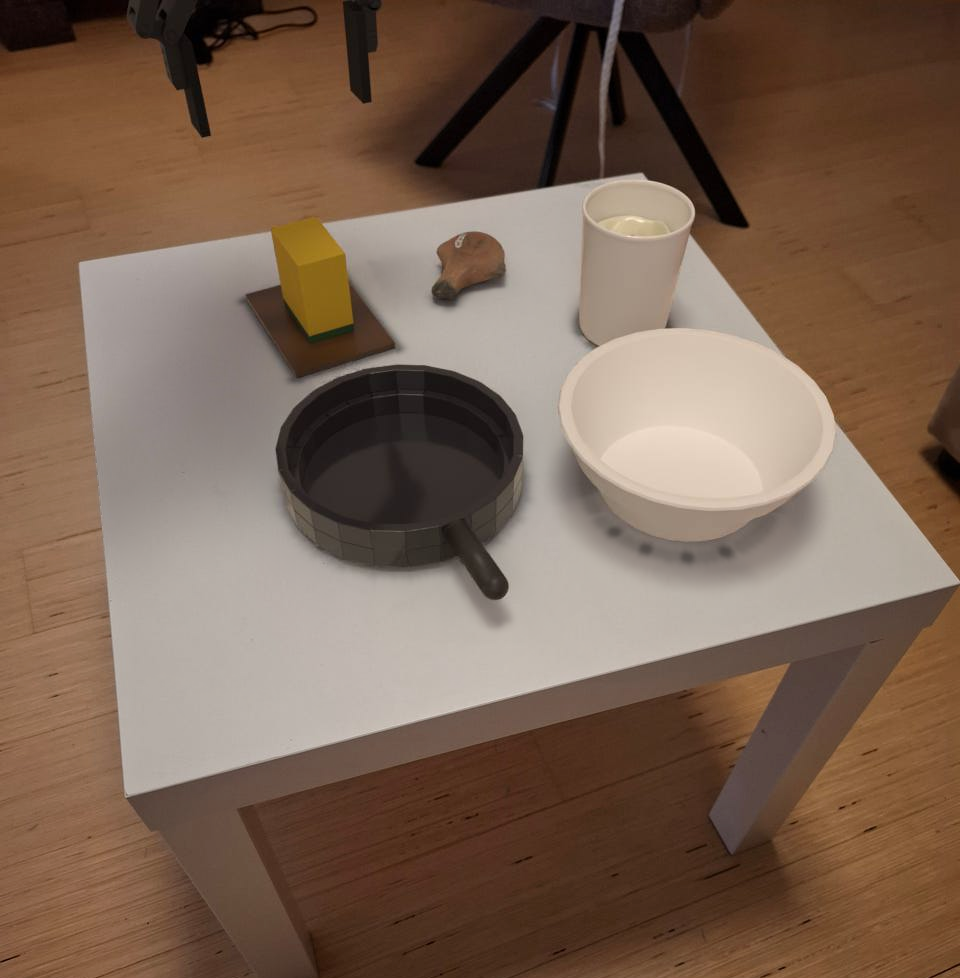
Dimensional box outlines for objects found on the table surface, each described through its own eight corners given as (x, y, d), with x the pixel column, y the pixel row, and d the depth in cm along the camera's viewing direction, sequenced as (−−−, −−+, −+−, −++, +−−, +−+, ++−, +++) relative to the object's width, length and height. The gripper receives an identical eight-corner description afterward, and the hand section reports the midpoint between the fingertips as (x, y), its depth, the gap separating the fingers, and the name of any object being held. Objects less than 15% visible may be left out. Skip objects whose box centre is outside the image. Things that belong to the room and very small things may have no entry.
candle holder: (643, 288, 95) (662, 170, 86) (690, 344, 90) (716, 224, 80) (555, 309, 93) (564, 190, 84) (597, 366, 88) (612, 247, 78)
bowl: (727, 384, 86) (748, 305, 80) (857, 543, 74) (894, 466, 68) (514, 436, 82) (517, 357, 75) (616, 614, 70) (630, 539, 64)
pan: (252, 448, 81) (242, 406, 77) (455, 382, 86) (455, 340, 83) (339, 606, 70) (332, 566, 67) (564, 519, 76) (569, 478, 72)
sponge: (284, 305, 92) (270, 227, 86) (327, 293, 94) (316, 216, 87) (310, 343, 89) (297, 266, 82) (354, 330, 90) (345, 253, 84)
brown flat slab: (246, 299, 94) (245, 294, 94) (338, 273, 97) (338, 268, 96) (296, 378, 87) (295, 373, 86) (395, 347, 89) (395, 342, 89)
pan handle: (439, 536, 71) (438, 518, 70) (463, 527, 72) (462, 509, 70) (488, 609, 67) (489, 591, 66) (513, 599, 68) (514, 581, 66)
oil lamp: (413, 275, 98) (440, 318, 94) (406, 240, 95) (434, 283, 90) (492, 247, 99) (522, 288, 95) (488, 212, 96) (519, 253, 91)
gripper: (41, -211, 53) (142, 166, 70) (437, -249, 61) (442, 101, 77) (15, -239, 57) (116, 124, 74) (389, -271, 65) (404, 66, 81)
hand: (283, 113), depth 76 cm, fingers open, 13 cm apart
